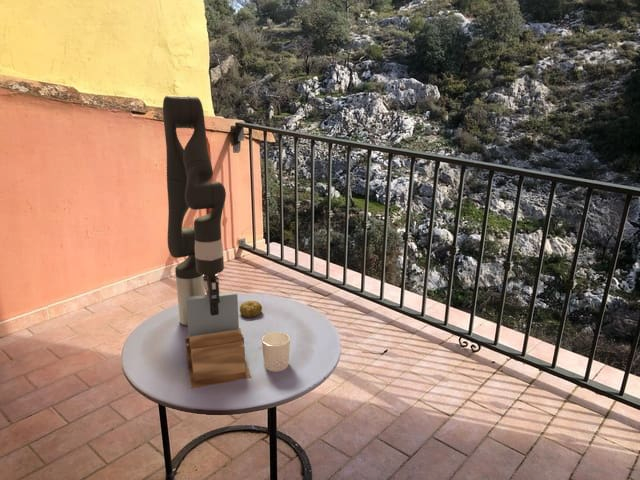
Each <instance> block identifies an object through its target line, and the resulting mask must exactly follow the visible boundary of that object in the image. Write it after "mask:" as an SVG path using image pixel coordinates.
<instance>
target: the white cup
mask: <svg viewBox="0 0 640 480" xmlns="http://www.w3.org/2000/svg"><path fill="white" fill-rule="evenodd" d="M290 342H291V338H290V335H288V334H287V333H286V332H285V333H284V332H282V331H281V332H280V331H274V332H272V331H271V332H269V333H266V334H264V335H263V336H262V337H261V347H262V356H263V357H262V358H263V366H264V368H265V369H266V370H268V372H269V371H270V372H276V373H277V372H282V371H284V370H286V369H287V368H288V367H289V363H290V362H289V361H290V345H291V344H290Z"/></svg>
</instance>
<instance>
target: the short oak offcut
mask: <svg viewBox="0 0 640 480" xmlns="http://www.w3.org/2000/svg"><path fill="white" fill-rule="evenodd" d="M245 347H246V346H245V343H244V344H243V341H241V342H235V343H228V344H222V345H215V346H209V347H203V348H196V349H191V352H192V365H193V376H194V381H196V380H202V379H207V378H213V377H219V376H224V375H230V374H236V373H241V372H246V370H245V361H246V352H245Z"/></svg>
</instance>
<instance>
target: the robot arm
mask: <svg viewBox="0 0 640 480" xmlns="http://www.w3.org/2000/svg"><path fill="white" fill-rule="evenodd" d="M162 113H163V115H162V117H163V125H164V127H163V128H164V136H165V137H164V138H165V145H166V189H167V203H168V205H167V206H168V215H167V219H168V221H167V222H168V223H167V248H168V252H169V254H170V256H171V257H172V258H175V259H179V258H180V259H181V258H184V257H185V258H186V257H187V258H186V259H185V260H183V261H182V262H180V263H179V264H177V266H176V267H175V270H174V272H175V283H176V292H177V293H176V294H177V303H178V304H177V305H178V316H179V323H180V324H181V325H183V326H187V327H188V317H187V305H186V297H193V296H201V295H208V296H209V302H210V313H211V315H212V316H213V315H218V314H219V307H218V303H220V300H219V293H220V286H219V285H220V278H219V277H218V274H220V273H222V272H223V271H224V270H225V265H224V264H225V261H224V245H223V240H222V227H221V225H222V224H221V223H222V216H223V211H224V207H225V203H226V198H227V193H226V188H225V186H224V184H223V183H222V182H220V181H216V180H215V181H210V180H211V179H212V178H213V176H214V171H213V167H212V162H211V158H210V154H209V150H208V143H207V131H206V121H205V112H204V107H203V104H202V101H201V100H200V98H199V97H198V96H194V95H193V96H192V95H173V94H172V95H166V96H165V97H164V98H163V101H162ZM177 129H193V132H192V134H191V137H190V138H189V139H188V142H187V143H186V145H185V147H183V145H182V143H181V142H180V139H179V137H178V134H177V133H178V132H177ZM189 209H191V210H196V211H197V210H207V209H211V210H210V211H209V213H207V214H205V215H202V216H198V217H196V218H195V219H194V221H193V226H189V227H184V228H183V222H184V219H185V216H186V214H187V212H188V210H189ZM214 295H216V298H215V299H212V296H214Z"/></svg>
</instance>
